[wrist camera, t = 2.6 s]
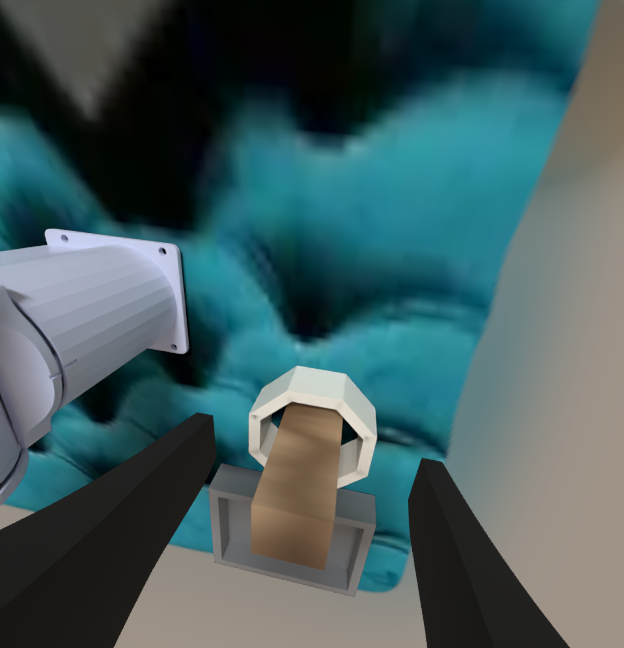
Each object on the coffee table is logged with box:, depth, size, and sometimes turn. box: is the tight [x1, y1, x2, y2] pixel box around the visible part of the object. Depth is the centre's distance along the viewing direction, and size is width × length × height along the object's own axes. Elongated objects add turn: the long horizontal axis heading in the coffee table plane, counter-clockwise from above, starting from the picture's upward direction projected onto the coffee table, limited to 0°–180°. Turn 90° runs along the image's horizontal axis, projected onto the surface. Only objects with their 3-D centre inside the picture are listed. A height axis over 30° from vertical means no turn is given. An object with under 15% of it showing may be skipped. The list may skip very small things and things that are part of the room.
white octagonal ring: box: [249, 366, 377, 489], centre depth 21 cm, size 9×9×3 cm
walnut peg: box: [251, 402, 343, 571], centre depth 18 cm, size 4×4×9 cm
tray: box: [209, 464, 376, 597], centre depth 27 cm, size 14×11×2 cm
